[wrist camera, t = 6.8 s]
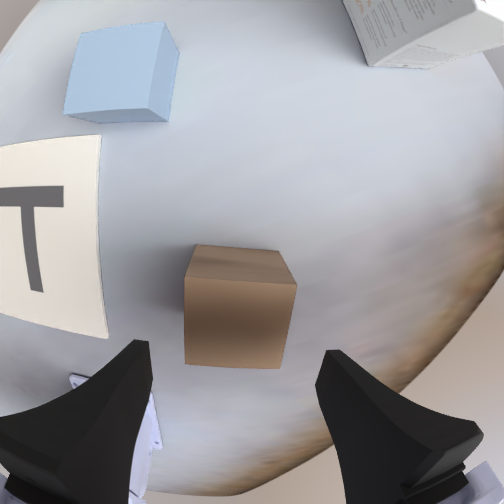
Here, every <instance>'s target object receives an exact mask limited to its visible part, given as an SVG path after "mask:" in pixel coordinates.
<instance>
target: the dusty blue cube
mask: <svg viewBox="0 0 504 504" xmlns="http://www.w3.org/2000/svg"><path fill="white" fill-rule="evenodd" d="M179 54H180V53H179V51H178V49H177V47H176V44H175V42H174V40H173V38H172V36H171V34H170V32H169V30H168V27H167V25H166V23H165V21H162V22H149V23H139V24H131V25H123V26H117V27H110V28H105V29H99V30H94V31H90V32H85V33H81V34H80V38H79V41H78V44H77V48H76V52H75V55H74V59H73V63H72V68H71V72H70V77H69V81H68V86H67V92H66V97H65V103H64V110H63V115H65V116H70V117H74V118H79V119H83V120H87V121H91V122H96V123H100V124H101V123H119V122H169V116H170V108H171V101H172V94H173V88H174V82H175V76H176V70H177V64H178V59H179Z"/></svg>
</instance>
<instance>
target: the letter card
mask: <svg viewBox="0 0 504 504" xmlns="http://www.w3.org/2000/svg"><path fill="white" fill-rule="evenodd" d="M101 137H102V135H85V136H73V137H62V138H53V139H45V140H37V141H30V142H24V143H18V144H12V145H6V146H1V147H0V313H3V314H6V315H9V316H12V317H16V318H19V319H23V320H26V321H30V322H33V323H37V324H41V325H44V326H48V327H52V328H56V329H61V330H65V331H69V332H74V333H78V334H83V335H88V336H93V337H98V338H103V339H108V338H109V332H108V326H107V320H106V313H105V306H104V298H103V289H102V280H101V269H100V255H99V236H98V181H99V161H100V148H101Z"/></svg>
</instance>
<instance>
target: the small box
mask: <svg viewBox="0 0 504 504" xmlns="http://www.w3.org/2000/svg"><path fill="white" fill-rule="evenodd" d="M342 1H343V3H344V5H345V7H346V10H347V12H348V14H349V16H350V19H351V21H352V24H353V26H354V29H355V31H356V34H357V36H358V39H359V41H360V44H361V46H362V49H363V52H364V55H365V58H366V61H367V64H368V66H385V67H406V68H420V69H430V68H433V67H435V66H438V65H441V64H444V63H447V62H450V61H453V60H456V59H459V58H462V57H465V56H468V55H472V54H475V53H478V52H482V51H485V50H489V49H492V48H496V47H500V46H504V0H342Z"/></svg>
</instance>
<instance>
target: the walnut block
mask: <svg viewBox="0 0 504 504" xmlns="http://www.w3.org/2000/svg"><path fill="white" fill-rule="evenodd" d="M296 288H297V284H296V282H295V280H294V278H293V276H292V274H291V273H290V271H289V269H288V267H287V265H286V263H285V261H284V260H283V258H282V256H281V254H280V252H279V251H271V250H259V249H247V248H234V247H222V246H210V245H197V244H196V247H195V250H194V252H193V255H192V258H191V260H190V263H189V266H188V269H187V271H186V274H185V277H184V346H185V364H189V365H200V366H213V367H230V368H256V369H280V366H281V361H282V357H283V352H284V348H285V343H286V339H287V334H288V329H289V324H290V319H291V314H292V309H293V304H294V299H295V294H296Z"/></svg>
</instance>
